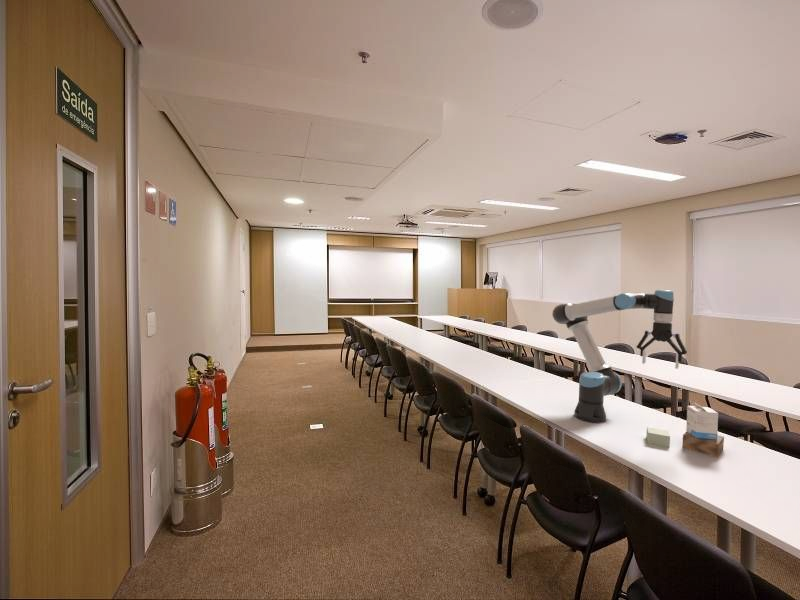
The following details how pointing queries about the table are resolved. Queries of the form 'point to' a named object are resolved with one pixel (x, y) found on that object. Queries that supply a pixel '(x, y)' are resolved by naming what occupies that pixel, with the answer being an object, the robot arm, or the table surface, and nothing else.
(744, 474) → the table surface
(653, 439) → the sage block
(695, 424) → the ink box
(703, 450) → the walnut block
